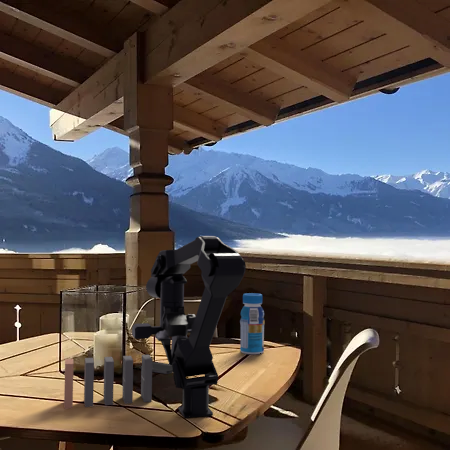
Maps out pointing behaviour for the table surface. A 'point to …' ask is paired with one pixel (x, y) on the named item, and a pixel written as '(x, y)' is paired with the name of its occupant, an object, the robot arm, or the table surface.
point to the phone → (161, 367)
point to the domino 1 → (68, 384)
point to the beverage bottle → (252, 324)
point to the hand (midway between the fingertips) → (171, 365)
